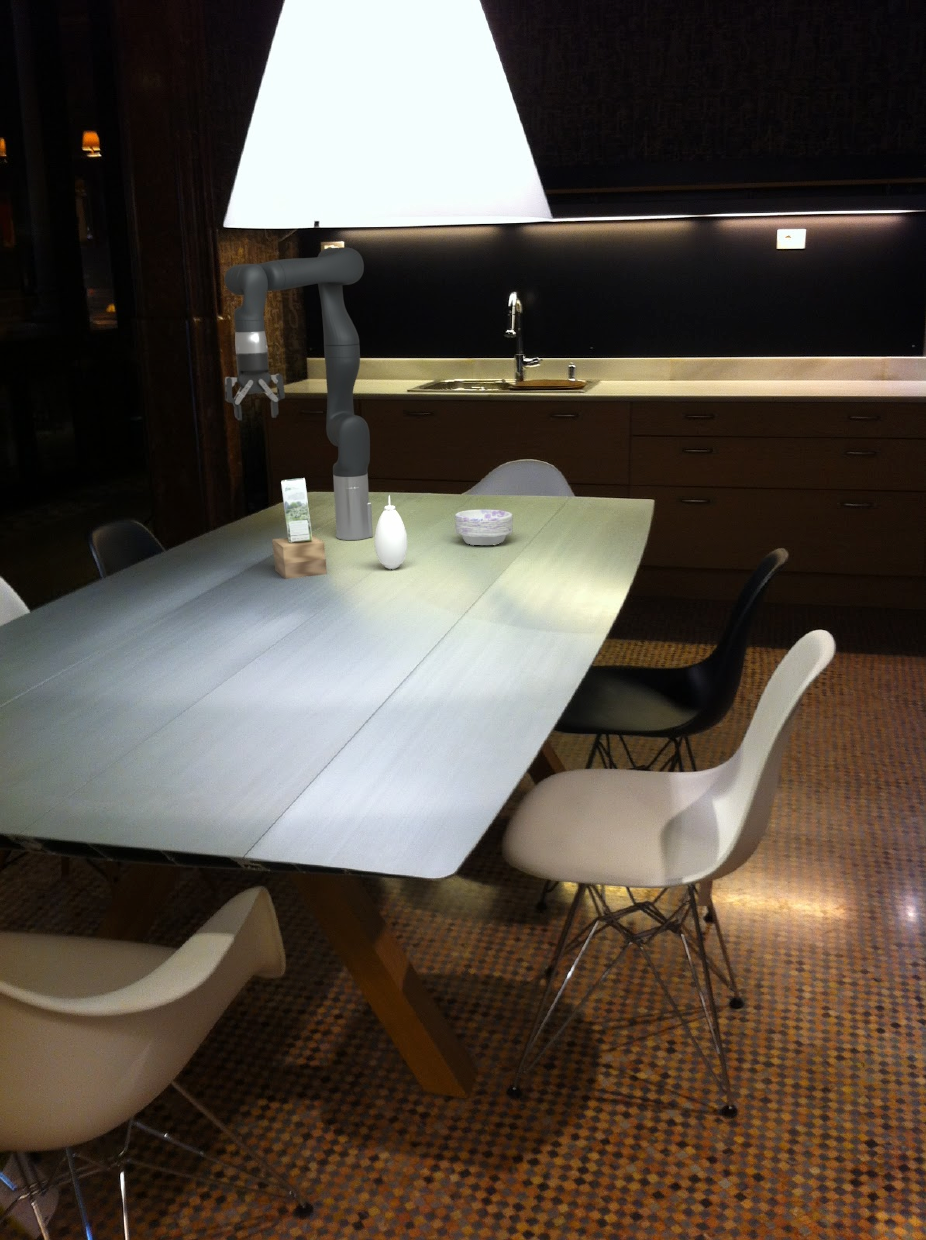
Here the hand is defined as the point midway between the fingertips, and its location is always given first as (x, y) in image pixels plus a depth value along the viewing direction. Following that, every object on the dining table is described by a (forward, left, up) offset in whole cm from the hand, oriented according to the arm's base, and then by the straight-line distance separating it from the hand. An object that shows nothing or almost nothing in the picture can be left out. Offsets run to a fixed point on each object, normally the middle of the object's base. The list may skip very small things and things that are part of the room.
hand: (256, 418), depth 284 cm
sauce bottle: (-25, +25, -35) cm, 50 cm away
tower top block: (-4, +18, -32) cm, 36 cm away
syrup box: (-5, +18, -28) cm, 33 cm away
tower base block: (-4, +18, -36) cm, 40 cm away
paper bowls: (-56, +9, -36) cm, 67 cm away
